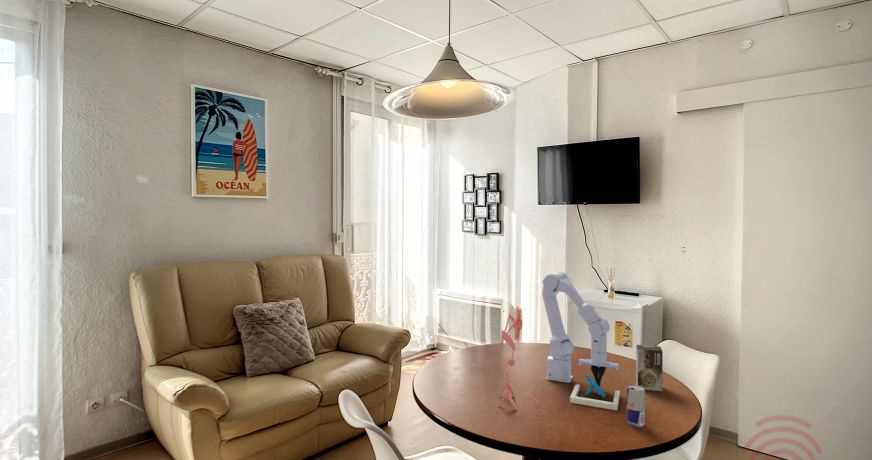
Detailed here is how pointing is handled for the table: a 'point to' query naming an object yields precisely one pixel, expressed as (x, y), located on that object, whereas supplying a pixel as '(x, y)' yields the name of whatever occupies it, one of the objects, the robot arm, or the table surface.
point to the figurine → (517, 326)
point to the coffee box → (649, 367)
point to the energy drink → (635, 406)
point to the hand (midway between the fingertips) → (598, 385)
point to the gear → (594, 387)
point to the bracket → (593, 402)
